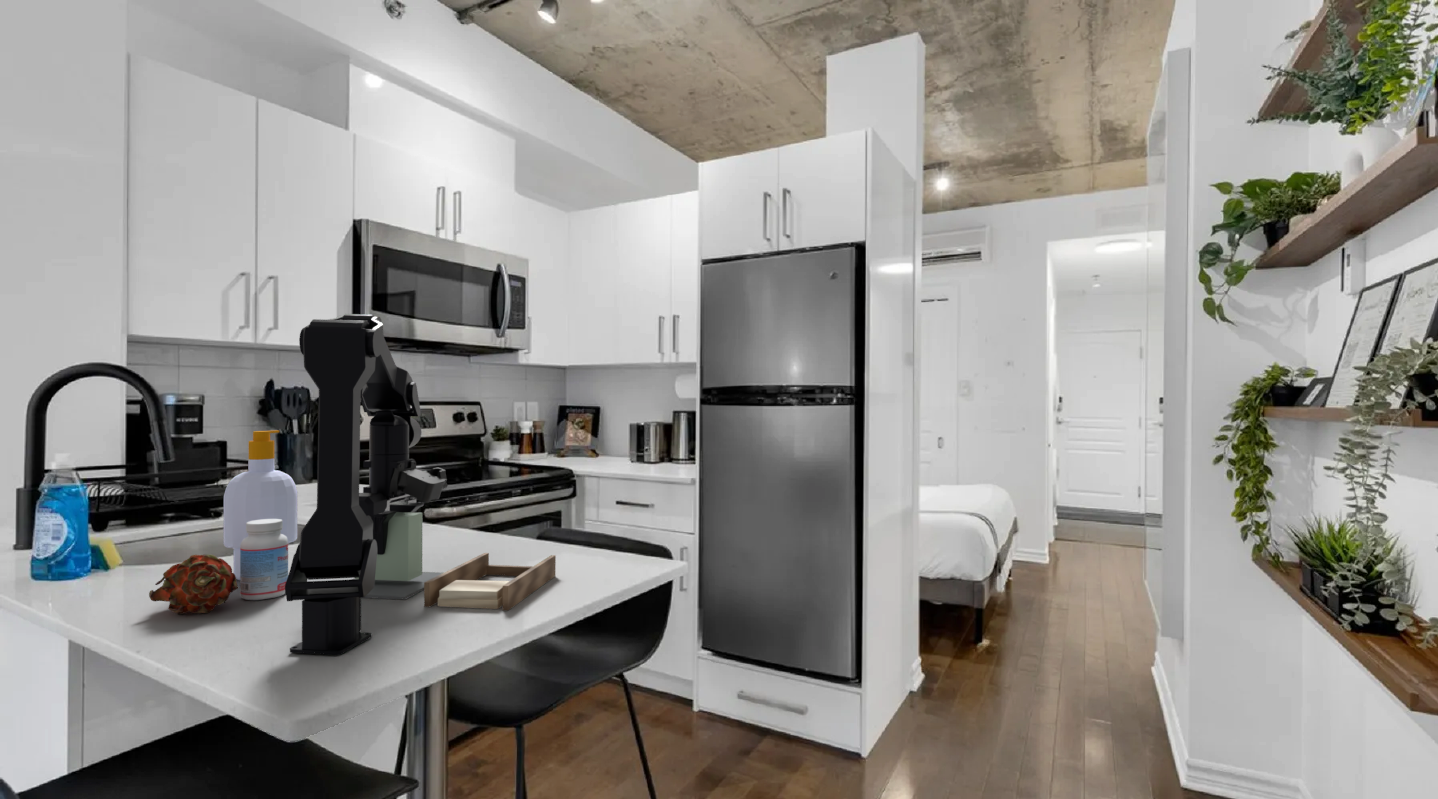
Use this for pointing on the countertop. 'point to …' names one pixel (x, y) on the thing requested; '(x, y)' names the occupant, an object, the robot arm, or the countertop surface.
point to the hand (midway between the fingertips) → (389, 551)
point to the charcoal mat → (400, 587)
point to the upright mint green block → (401, 549)
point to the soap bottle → (259, 496)
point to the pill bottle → (263, 560)
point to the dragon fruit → (196, 584)
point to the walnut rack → (479, 567)
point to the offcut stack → (472, 594)
